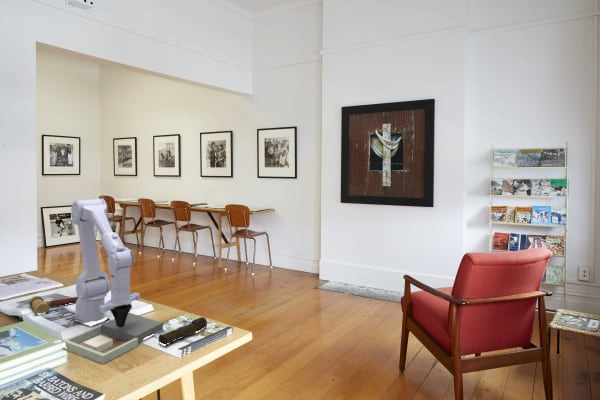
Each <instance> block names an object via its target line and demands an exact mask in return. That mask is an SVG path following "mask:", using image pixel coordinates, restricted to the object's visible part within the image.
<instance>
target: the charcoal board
mask: <svg viewBox="0 0 600 400" xmlns="http://www.w3.org/2000/svg"><path fill="white" fill-rule="evenodd" d="M100 326H101V333H100V334H103V335H105V336H108V337H111V338H114V339H117V340H121V341H123V342H125V343H126V342H128V341H130V340H132V339H134V338H138V345H139V344H141V343H142V342H144V341H143V339H144V338H145V337H147V336H150V335H152V334H155V333H157V332H159V331H161V330H163V331H164V329H163V327H164V323H163V322H162V321H158V320H155V319H151V318H148V317H145V316H142V315H138V314H135V313H133V312H132V313H131V312H129V313H128V315H127V318H126V321H125V325H124V327H121V328H120V327H117V325H116V321H115V318H113V319H110V320H108V321H105V322H103V323H100Z"/></svg>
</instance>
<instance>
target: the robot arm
mask: <svg viewBox="0 0 600 400" xmlns="http://www.w3.org/2000/svg"><path fill="white" fill-rule="evenodd" d="M107 214H108V205H107V202H106V200H105V199H104V198H95V199H80V200H79V199H75V200H74V201H73V202H72V204H71V217H72V224H74V225H76V226H77V228H78V237H79V243H80V253H81V259H82V266H83V272H81V273H80V274H79V275H78V276H77V278H76V279H75V280H76V281H75V282H76V286H75V291H76V292H75V293H76V295H77V296H76V297H79V298H78V299H77V301H76V304H75V319H76V318H78V319H81V320H83V321H86V322H90V321H98V320H101V319H103V318H104V317H106V316H105V314H106V313H107V312H108V311H110V312H111V314H112V316H113V319H115V321H116V325H117V327H120V328H121V327H124V325H125V321H126V318H127V315H128V313H130V312H131V309H133V305H132V302H133V301H139V300H140V298H141V294H140V293H138V292H133V293H131V267H133V265H134V262H135V257H134V253H133V251H132V249H129V248H128V247H127V246H125V244H124V243H123V242H122V240H121V238H120V235H119V234H118V233H117V232H113V229H112V227H111V225H110V221H109V219H108V216H107ZM94 227H95V228H96V230H97V231H98V233H99V234H100V236H101V239H100V243H101V245H102V247H103V249H104V251H105V254H106V256H107V260H106V261H107V266H108V271H109V274H110V280H109V277H108V273H107V272H106V271H103V270H102V269H100V263H99V256H98V248H97V241H96V233H95V228H94ZM109 292H110V295H111V296H110V299H109V300H108V301H107V302H105V300H106V299H105V298H106V297H107V296H108V295H107V294H108V293H109Z"/></svg>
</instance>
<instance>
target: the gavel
mask: <svg viewBox="0 0 600 400" xmlns="http://www.w3.org/2000/svg"><path fill="white" fill-rule="evenodd" d="M78 298H79V297H78V296H74V297H69V298H68V297H67V298H59V299H53V300H49V301H44V298H42V296H39V295H35V296H32V297H31V298H30V299H29V300H28V305H29V307H30V308H31V307H32V308H31V309H33V312H34V313H35V314H36V313H44V312H48V313H49V312H50V308H55V307H54V306H57V307H60V306H59V305H63V306H66V305H65V304H69V303H76V301H77V299H78Z"/></svg>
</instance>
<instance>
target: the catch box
mask: <svg viewBox="0 0 600 400" xmlns="http://www.w3.org/2000/svg"><path fill="white" fill-rule="evenodd" d="M101 334H102V333H101V325H96V326H93V327H91V328H89V329H86V330H85V331H82V332H80V333H77V334H76V335H73V336H70V337H67V338H66V339H63V340H64V341H65V343H66V347H67V350H66V351H69V352H71V353H74V354H76V355H79V356H82V357H84V358H87V359H89V360H91V361H95V362H97V363H100V364H103V365H104V364H107V363H108V362H110V361H112V360H113V359H116V358H117V357H120V356H122V355H123V354H125V353H127V352H129V351H131V350H133V349H134V348H136V347H139V344H138V338H134V339H132V340H130V341H128V342H126V341H125V342H124V343H123V344H120V345H118V346H116V347H114V348H112V349H110V350H108V351H106V352H105V353H103V352H98V351H95V350H93V349H90V348H87V347H85V346H83V344H82V345H81V344H80V343H81V342H85V341H87V340H90V339H92V338H94V337H97V336H99V335H101Z"/></svg>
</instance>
